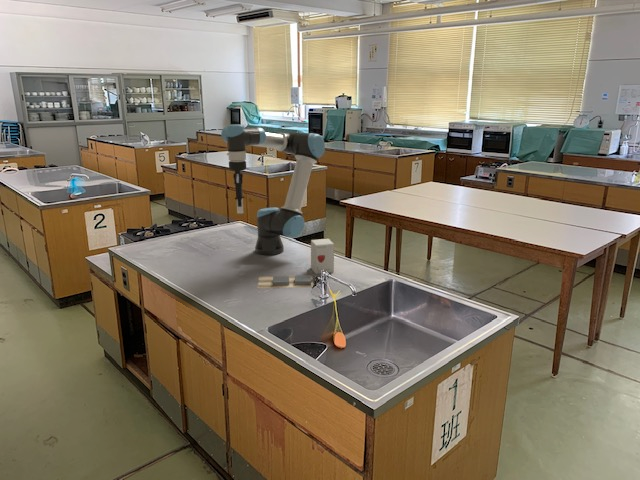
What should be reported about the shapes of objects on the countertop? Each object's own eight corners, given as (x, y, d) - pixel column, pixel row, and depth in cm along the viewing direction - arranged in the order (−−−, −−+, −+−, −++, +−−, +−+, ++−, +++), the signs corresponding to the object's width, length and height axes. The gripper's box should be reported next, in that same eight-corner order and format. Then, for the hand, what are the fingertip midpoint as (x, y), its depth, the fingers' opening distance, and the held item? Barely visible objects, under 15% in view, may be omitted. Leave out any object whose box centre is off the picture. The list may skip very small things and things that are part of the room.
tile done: (294, 279, 218) (294, 275, 217) (310, 278, 218) (310, 275, 218) (294, 285, 211) (294, 281, 211) (311, 284, 211) (311, 281, 211)
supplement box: (315, 276, 225) (315, 245, 220) (310, 269, 233) (310, 239, 228) (334, 274, 227) (334, 243, 222) (328, 268, 235) (328, 238, 231)
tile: (273, 276, 217) (272, 282, 210) (289, 276, 217) (289, 281, 211) (273, 279, 217) (272, 285, 211) (289, 279, 218) (289, 285, 211)
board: (259, 279, 221) (259, 276, 221) (312, 277, 223) (312, 275, 222) (257, 291, 208) (257, 288, 208) (313, 289, 209) (313, 286, 209)
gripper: (229, 158, 221) (232, 209, 227) (227, 163, 208) (231, 216, 215) (246, 158, 221) (249, 209, 228) (245, 162, 209) (248, 216, 216)
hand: (240, 212), depth 222 cm, fingers closed
